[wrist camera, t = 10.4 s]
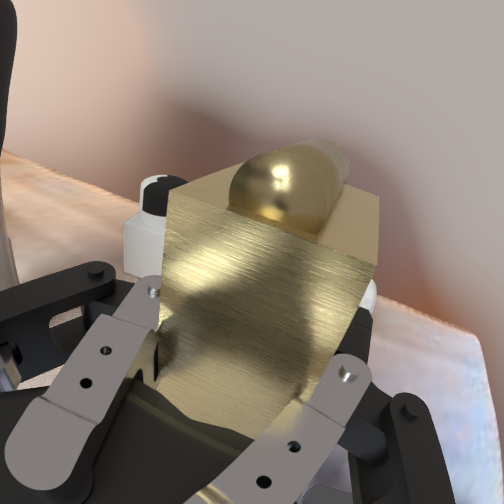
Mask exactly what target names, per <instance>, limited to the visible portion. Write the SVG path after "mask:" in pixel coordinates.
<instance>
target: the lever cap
mask: <svg viewBox="0 0 504 504" xmlns="http://www.w3.org/2000/svg"><path fill="white" fill-rule="evenodd" d="M348 175H349V162H348V159H347V157H346V154H345V153H344V151H343V150H342V149H341V147H339V146H338V145H337V144H336V143H334V142H332V141H330V140H328V139H324V138H314V139H309V140H306V141H302V142H299V143H296V144H292V145H289V146H286V147H282V148H279V149H276V150H273V151H269V152H266V153H263V154H260V155H257V156H255V157H253V158H251V159H249V160H248V161H246V162H243V163H240V164H237V165H235V166H232V167H229V168H226V169H224V170H221V171H218V172H216V173H213V174H210V175H208V176H205V177H202V178H200V179H197V180H195V181H192V182H189V183H187V184H184V185H182V186H179V187H177V188H174V189H172V190H169V197H168V205H167V215H166V225H165V235H164V247H163V259H162V273H161V289H160V309H159V319H161V320H163V322H162V334H161V336H160V338H159V341H158V369H160V370H161V380H160V382H159V385H158V392H160V393H161V394H162V395H163V396H164V397H166V398H167V399H168V400H169V401H170V402H171V403H172V404H173V405H174V406H175V407H177V408H178V409H179V410H180V411H181V412H182V413H183V414H184V415H186V416H187V417H188V418H190V419H192V420H196V421H200V422H203V423H207V424H211V425H215V426H220V427H224V428H228V429H232V430H234V431H236V432H238V433H240V434H243V435H245V436H247V437H250V438H252V439H254V440H256V439H257V438H258V436H259V435H260V434H261V433H262V432H263V431H264V430H265V429H266V428H267V427H268V426H269V425H270V424H271V423H272V422H273V421H274V419H275V418H276V417H277V416H278V415H279V414H280V413H281V412H282V411H283V410H284V409H285V407H286V406H287V405H288V404H289V403H290V402H291V401H292V400H293V399H294V398H295V397H299V396H300V395H301V394H302V393H303V392H304V390H305V389H306V388H307V387H311V388H313V389H315V387H316V385H317V384H318V382H319V380H320V378H321V377H322V375H323V373H324V371H325V370H326V368H327V366H328V364H329V362H330V361H331V359H332V357H333V355H334V353H335V351H336V350H337V348H338V346H339V344H340V342H341V340H342V338H343V336H344V334H345V332H346V330H347V328H348V326H349V324H350V323H351V321H352V319H353V317H354V314H355V312H356V310H357V308H358V306H359V304H360V302H361V300H362V298H363V296H364V294H365V292H366V289H367V287H368V285H369V283H370V281H371V279H372V276H373V274H374V272H375V270H376V267H377V258H378V235H379V197H378V196H376V195H373V194H370V193H368V192H365V191H362V190H360V189H357V188H354V187H352V186H349V185H346V184H345V183H346V181H347V178H348Z"/></svg>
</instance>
